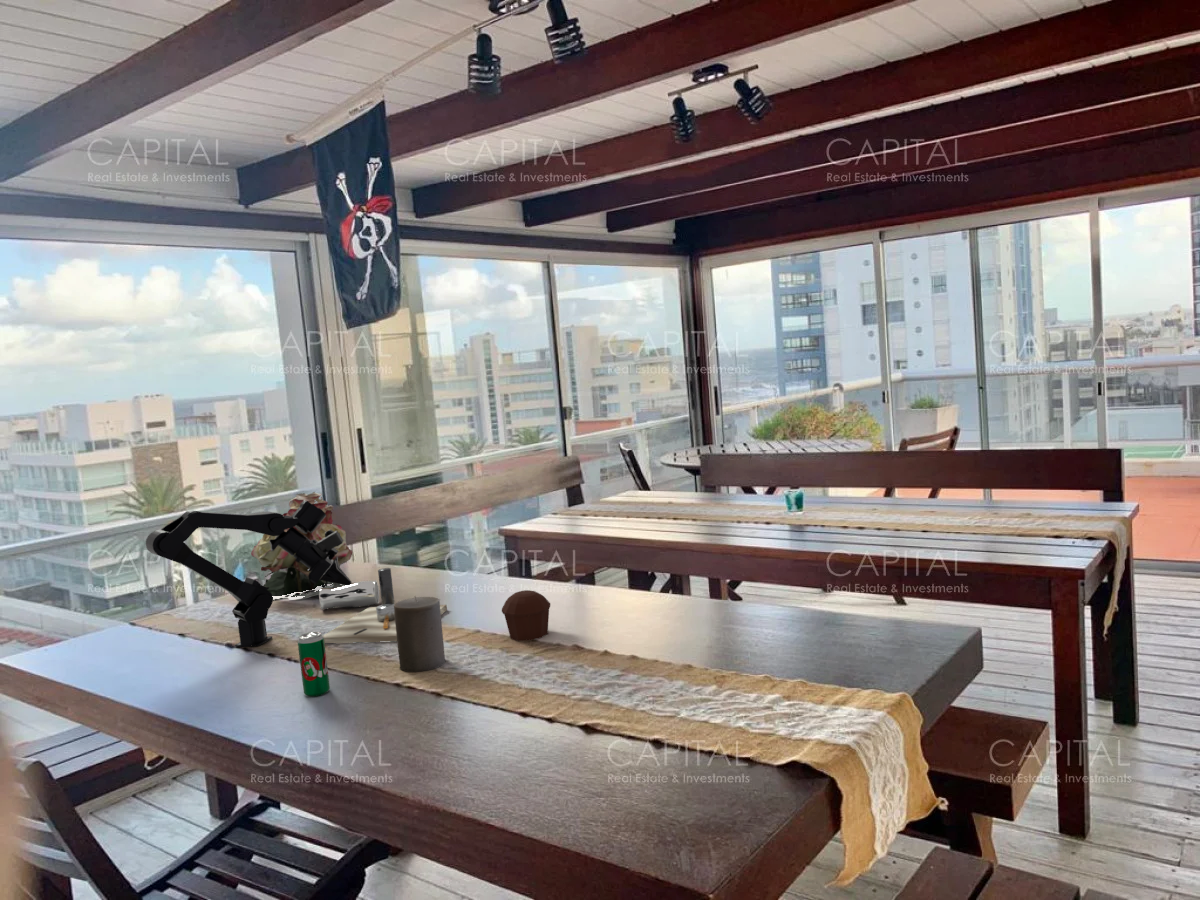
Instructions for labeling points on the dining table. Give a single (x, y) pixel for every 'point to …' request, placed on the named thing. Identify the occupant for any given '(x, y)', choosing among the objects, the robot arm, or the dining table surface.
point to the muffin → (526, 615)
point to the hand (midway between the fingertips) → (350, 584)
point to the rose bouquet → (281, 559)
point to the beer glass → (350, 595)
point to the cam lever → (386, 597)
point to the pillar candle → (419, 634)
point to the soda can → (313, 664)
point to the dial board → (365, 629)
